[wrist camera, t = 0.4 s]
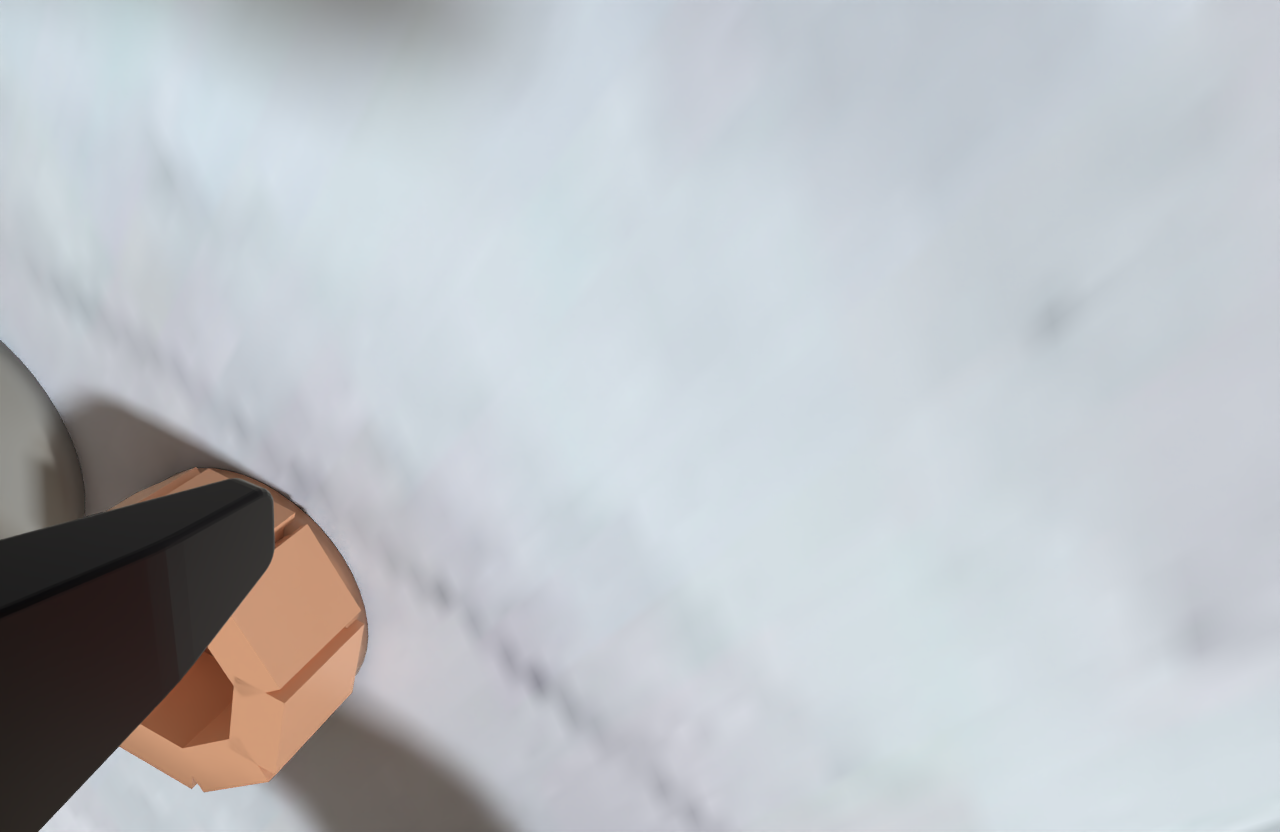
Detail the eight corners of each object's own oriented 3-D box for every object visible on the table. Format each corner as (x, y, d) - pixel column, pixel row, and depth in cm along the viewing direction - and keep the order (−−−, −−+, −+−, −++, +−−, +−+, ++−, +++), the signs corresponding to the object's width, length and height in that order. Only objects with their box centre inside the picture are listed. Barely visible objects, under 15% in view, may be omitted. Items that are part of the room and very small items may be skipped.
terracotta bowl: (349, 739, 35) (267, 833, 32) (141, 623, 37) (39, 700, 33) (386, 546, 31) (293, 630, 27) (144, 423, 32) (25, 485, 28)
